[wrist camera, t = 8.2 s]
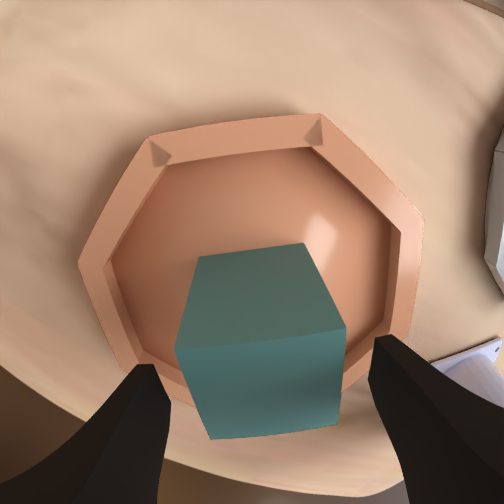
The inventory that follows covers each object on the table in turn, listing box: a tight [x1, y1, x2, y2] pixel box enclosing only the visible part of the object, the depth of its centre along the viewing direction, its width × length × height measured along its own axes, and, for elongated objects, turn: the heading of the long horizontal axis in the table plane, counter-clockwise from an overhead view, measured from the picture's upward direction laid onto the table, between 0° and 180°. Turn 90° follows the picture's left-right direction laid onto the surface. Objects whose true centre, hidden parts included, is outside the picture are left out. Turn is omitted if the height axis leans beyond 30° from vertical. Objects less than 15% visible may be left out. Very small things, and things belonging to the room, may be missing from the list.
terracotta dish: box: [77, 113, 424, 408], centre depth 14 cm, size 15×15×2 cm
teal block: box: [174, 243, 347, 440], centre depth 11 cm, size 4×4×6 cm
